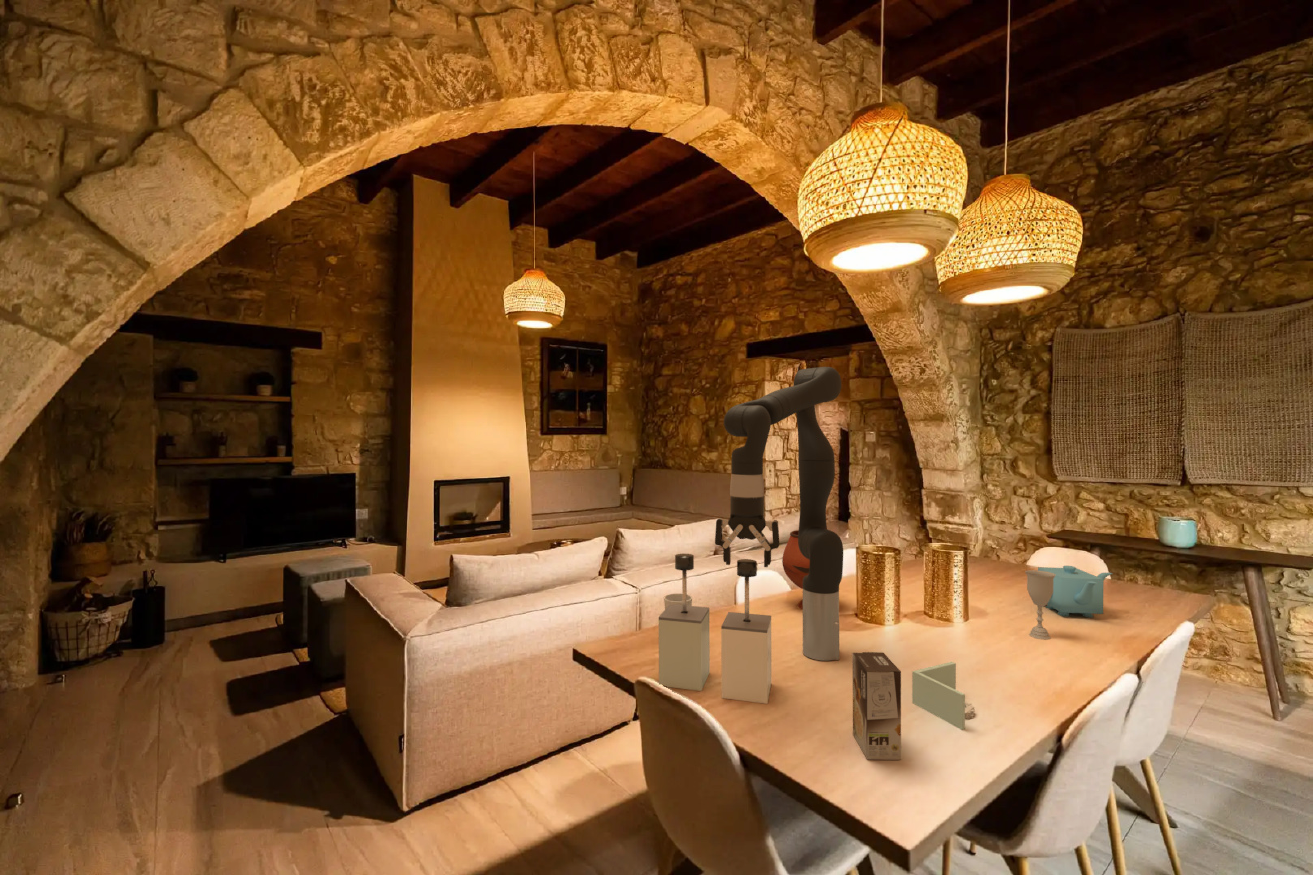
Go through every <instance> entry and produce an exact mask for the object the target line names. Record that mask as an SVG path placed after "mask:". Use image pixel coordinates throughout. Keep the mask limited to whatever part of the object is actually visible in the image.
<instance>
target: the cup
mask: <svg viewBox="0 0 1313 875" xmlns="http://www.w3.org/2000/svg"><path fill="white" fill-rule="evenodd" d="M663 603H664V610H665V609H666V608H667V607H668V606H669V604H673V605H682V593H676V592H675V593H669V594H666V595H665V596H664V597H663ZM687 606H693V597H692V596H691V594H690V595H689V594H687Z"/></svg>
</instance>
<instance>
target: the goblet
mask: <svg viewBox="0 0 1313 875" xmlns="http://www.w3.org/2000/svg"><path fill="white" fill-rule="evenodd" d="M798 532H799V529H798V530H793V531H791V532H790V533H789V538H788V541H787V543H786V546H785V548H784V551H783V554H782V559H781V561H782V562H781V564H782V567H783V570H784V573H785V574H786V576H787V578H788V579H789V580H790V581H791V582H792V583H793V584H794V585H795V586H797V587H798V588H800V589H802V590H803V578H804V577H805V576H806V575H808V574H809V565H810V560H809V559H807V558H806V557H804V556H803V555H802V553H801V552H800V550H799V546H798ZM797 607H798V608H799V609H800V610H802V611H803V598H802V599H801V600H800V601H799V602H798V605H797Z"/></svg>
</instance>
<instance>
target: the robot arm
mask: <svg viewBox="0 0 1313 875" xmlns="http://www.w3.org/2000/svg"><path fill="white" fill-rule="evenodd" d="M795 373H796V374H795V376H794V378H793V385H791V386H788V387H784V388H781V389H777V390H775V391H772V392H769V393H767V394H766V395H763V396H762V397H760V398H758V399H754V400H750V401H745V402H743V403H739V404H736V405H734V406H732V407H730V408H729V409H728V411H727V412H726V413H725V415H724V418H723V426H724V429H725V430H726V432H727V433H728V434H729V435H731V436H734V437H737V438H739V437H740V438H746V437H747V438H746V441H745V443H744V445H743V446H741V447H737V448H735V449H733V450H732V452H731V466H730V467H731V469H730V471H731V477H730V483H729V484H730V485H729V486H730V488H729V494H730V496H729V497H730V498H729V501H730V502H729V505H730V506H729V507H730V508H729V509H730V511H729V512H730V514H729V516H730V517H729V518H728V519H726V518H722V517H719V518H717V520H716V521H715V532H714V533H715V536H714V543H715V545H716V546H719V547H721V548H722V549H723V550H722V556H723V557H722V558H723V559H722V561H723V563H725V565H726V566H730V565H731V560H732V559H731V557H732V556H731V555H732V554H731V553H732V551H731V546H730V545H731V544H732V543H733V541H734V540H735V539H736V538H738V539H739V540H744V539H745V540H746V539H747V540H750V541H751V540H752V541H753V540H755V539H756V540H757V541H758V543H759V544H760V545H761V546H762V548H764V551H763V567H764V568H768V567H769V566H770V565H771V563H772V551H773V550H774V549H779V546H780V531H779V521H778V520H777V519H774V520H772V521H770V520H767V521H766V519H765V496H764V495H765V482H764V473H763V472H764V467H763V466H764V454H765V451H766V450H765V449H766V445H767V442H768V438H769V435H770V430H771V426H773V425H775V424H778V423H779V422H781V421H783V420H785V419H787V418H789V417H790V416H793V415H794V414H796V424H797V441H798V442H797V443H798V444H797V445H798V454H797V455H798V456H797V457H798V458H797V459H798V464H797V465H798V482H799V483H798V484H799V485H798V486H799V487H798V488H799V521H798V530H799V532H798V546H799V550H800V552H801V553H802V555H803V556H804V557H806V558H807V559H809V560H810V565H809V574H808V575H806V576H805V577H804V578H803V589H802V599H803V610H802V653H803V655H804V656H805V657H807V658H809V659H813V660H816V661H822V662H823V661H825V662H826V661H834V660H836V661H839V660H840V583H841V582H842V579H843V569H844V546H843V545H844V544H843V540H842V539H841V537H840V536H839V534H837V533H836V532H835V531H833V530H830V529H828V526H827V513H826V512H827V505H828V504H827V503H828V501H829V498H830V494H831V492H832V490H833V486H834V483H835V476H836V475H835V474H836V468H835V467H836V464H835V462H836V460H835V458H836V457H835V451H834V449H833V447H832V446H833V445H831V443H830V441H829V440H828V438H827V436H826V435H825V433H824V432H823V431H822V428H821V427H820V425H819V422H818V419H817V415H816V406H815V405H819V404H822V403H828V402H832V401H834V400H836V399H837V398H838V397H839V395H840V393H841V391H842V378H841V375H840V373H839V371H837V369H835V368H834V367H831V366H820V367H819V366H818V367H812V368H811V367H810V368H809V367H808V368H802V369H799V370H798V371H797V372H795ZM727 525H728V527H729V528H730V529H731V531H732V532H731V534H730V535H729V537H727V539H726V540H724V539H723V532H724V529H725V528H726V527H727ZM766 527H767V528H768V530H769V531H771V533H772V534H771V535H772V542H769V540H768V539H767V537H766V535H765V534H764V533H763V530H764V529H765V528H766Z"/></svg>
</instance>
